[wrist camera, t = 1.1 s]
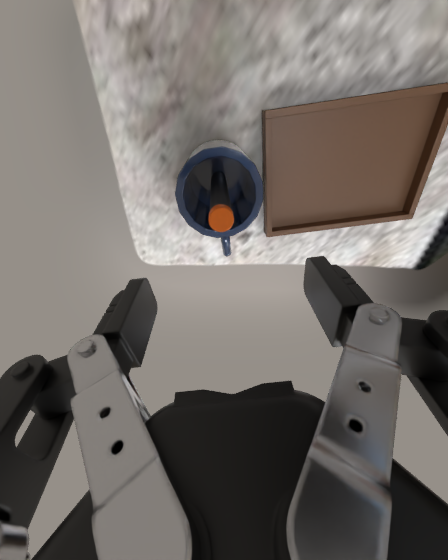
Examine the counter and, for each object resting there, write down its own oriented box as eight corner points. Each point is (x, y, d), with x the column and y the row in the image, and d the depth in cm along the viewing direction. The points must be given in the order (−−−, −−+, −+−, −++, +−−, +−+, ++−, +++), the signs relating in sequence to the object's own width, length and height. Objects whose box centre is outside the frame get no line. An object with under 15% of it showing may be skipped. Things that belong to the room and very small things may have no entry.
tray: (262, 110, 27) (265, 110, 25) (449, 82, 26) (464, 80, 24) (264, 231, 36) (266, 237, 34) (403, 214, 35) (412, 218, 34)
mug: (177, 145, 29) (165, 154, 21) (249, 134, 28) (262, 140, 21) (196, 236, 36) (192, 267, 29) (254, 229, 36) (264, 258, 28)
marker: (209, 172, 30) (206, 209, 18) (225, 170, 30) (232, 206, 18) (212, 188, 31) (210, 233, 19) (227, 186, 31) (235, 230, 19)
